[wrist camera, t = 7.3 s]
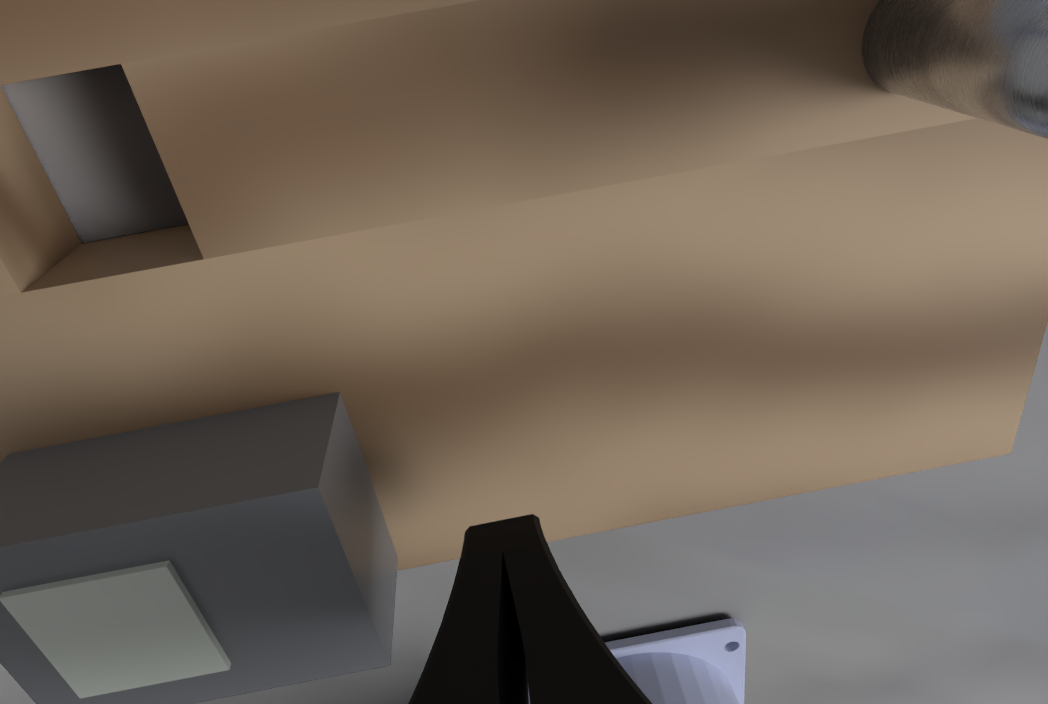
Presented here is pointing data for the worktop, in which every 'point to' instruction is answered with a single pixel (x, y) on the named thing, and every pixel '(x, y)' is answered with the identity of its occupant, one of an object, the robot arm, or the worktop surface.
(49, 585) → the block
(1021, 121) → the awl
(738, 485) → the board
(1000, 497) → the worktop surface
